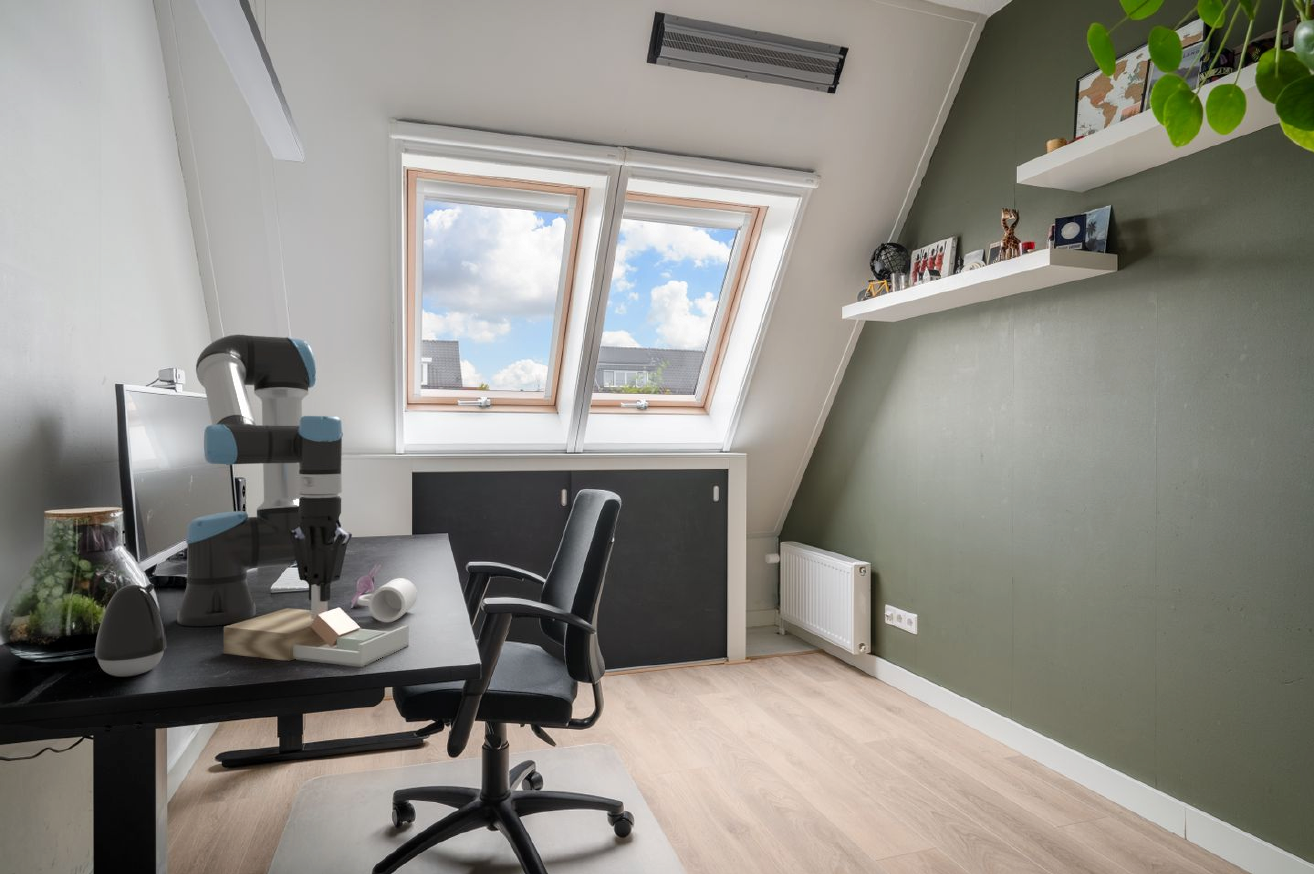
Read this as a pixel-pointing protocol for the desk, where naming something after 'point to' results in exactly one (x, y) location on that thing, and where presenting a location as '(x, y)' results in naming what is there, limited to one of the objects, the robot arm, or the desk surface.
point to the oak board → (272, 635)
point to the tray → (359, 658)
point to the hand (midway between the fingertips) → (319, 617)
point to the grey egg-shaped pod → (130, 633)
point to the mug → (390, 600)
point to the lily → (365, 584)
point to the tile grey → (356, 639)
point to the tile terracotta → (333, 625)
